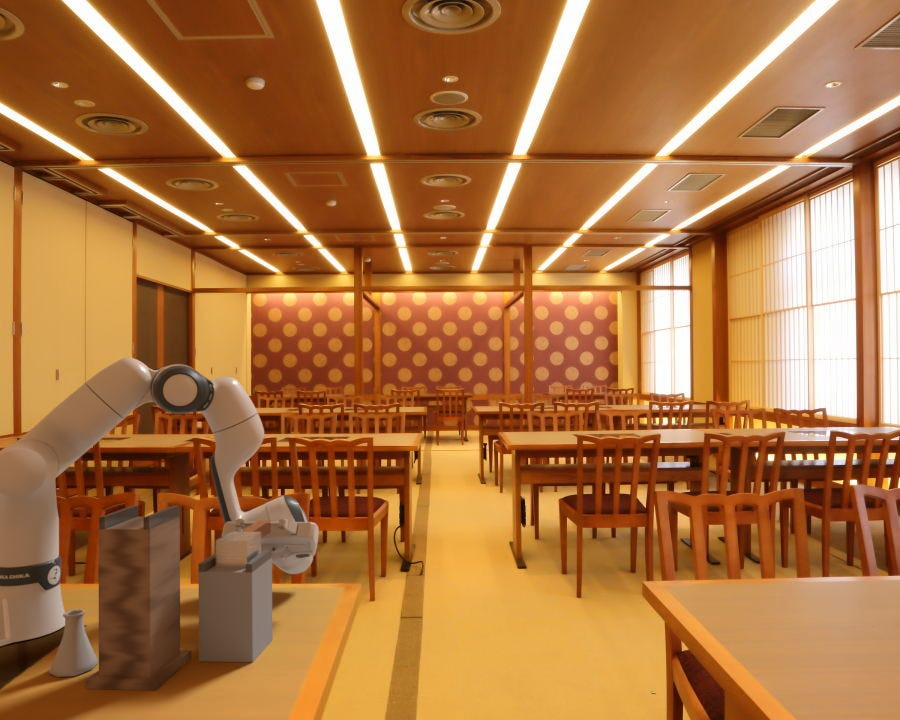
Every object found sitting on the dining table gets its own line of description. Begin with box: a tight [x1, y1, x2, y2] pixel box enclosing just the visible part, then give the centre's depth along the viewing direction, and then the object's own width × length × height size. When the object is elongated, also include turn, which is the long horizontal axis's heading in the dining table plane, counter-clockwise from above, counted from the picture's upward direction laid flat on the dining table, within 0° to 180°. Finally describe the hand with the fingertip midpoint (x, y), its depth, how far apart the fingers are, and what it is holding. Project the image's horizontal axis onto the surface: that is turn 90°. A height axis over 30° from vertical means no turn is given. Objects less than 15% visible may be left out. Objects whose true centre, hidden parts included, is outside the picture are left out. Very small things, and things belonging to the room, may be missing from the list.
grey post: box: [198, 549, 274, 663], centre depth 122 cm, size 10×10×18 cm
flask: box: [48, 608, 99, 678], centre depth 115 cm, size 7×7×10 cm
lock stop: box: [215, 520, 271, 568], centre depth 128 cm, size 6×17×5 cm, turn 175°
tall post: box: [85, 505, 192, 691], centre depth 113 cm, size 12×12×28 cm
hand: (259, 522), depth 134 cm, fingers open, 8 cm apart
